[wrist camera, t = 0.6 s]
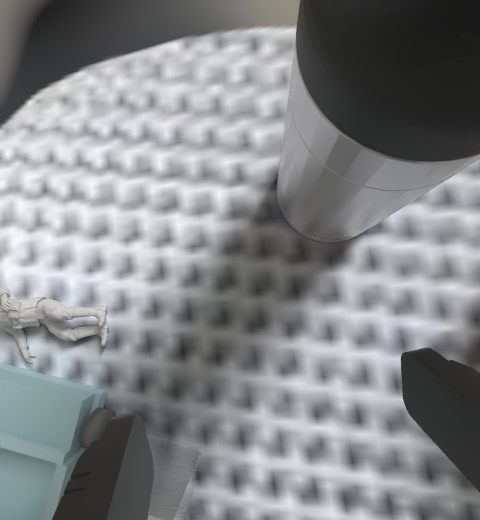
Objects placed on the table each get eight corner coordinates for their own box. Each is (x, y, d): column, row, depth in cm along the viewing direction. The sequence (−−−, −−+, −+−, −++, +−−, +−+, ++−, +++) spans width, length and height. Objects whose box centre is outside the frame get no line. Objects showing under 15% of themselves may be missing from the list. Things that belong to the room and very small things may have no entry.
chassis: (-11, 359, 29) (-48, 368, 26) (121, 394, 28) (100, 408, 25) (-64, 548, 28) (-112, 585, 24) (72, 592, 27) (43, 637, 23)
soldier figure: (109, 367, 30) (-49, 375, 27) (115, 325, 33) (-24, 327, 30) (102, 310, 25) (-92, 311, 22) (110, 267, 29) (-56, 264, 26)
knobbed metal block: (133, 430, 28) (56, 511, 17) (202, 448, 27) (164, 543, 17) (119, 488, 28) (31, 607, 17) (188, 508, 27) (141, 644, 17)
